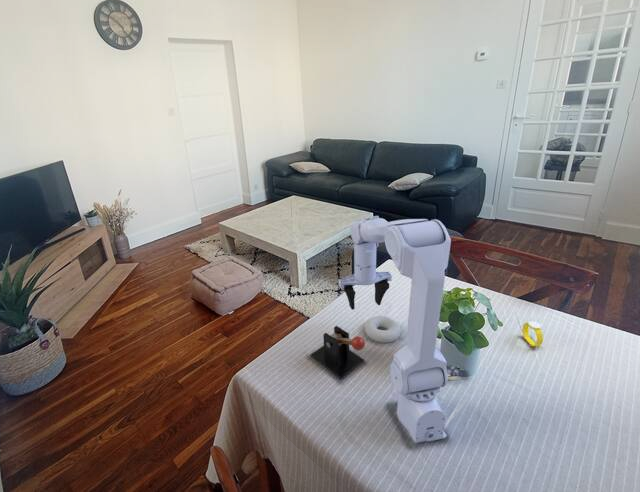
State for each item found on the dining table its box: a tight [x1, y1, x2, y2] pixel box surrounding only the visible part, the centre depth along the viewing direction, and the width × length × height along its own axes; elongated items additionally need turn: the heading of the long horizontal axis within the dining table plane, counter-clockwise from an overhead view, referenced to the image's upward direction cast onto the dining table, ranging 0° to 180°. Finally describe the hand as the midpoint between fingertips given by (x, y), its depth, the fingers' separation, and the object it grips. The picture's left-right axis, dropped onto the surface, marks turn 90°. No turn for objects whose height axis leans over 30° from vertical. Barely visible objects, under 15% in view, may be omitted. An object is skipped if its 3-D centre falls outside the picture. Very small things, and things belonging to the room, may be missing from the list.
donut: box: [364, 315, 402, 344], centre depth 98 cm, size 10×4×10 cm
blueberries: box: [446, 364, 465, 382], centre depth 83 cm, size 7×8×2 cm
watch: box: [521, 320, 544, 347], centre depth 89 cm, size 6×3×6 cm, turn 178°
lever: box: [329, 332, 366, 351], centre depth 84 cm, size 11×3×3 cm, turn 37°
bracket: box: [310, 325, 365, 381], centre depth 88 cm, size 11×9×9 cm
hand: (364, 305), depth 95 cm, fingers open, 7 cm apart
